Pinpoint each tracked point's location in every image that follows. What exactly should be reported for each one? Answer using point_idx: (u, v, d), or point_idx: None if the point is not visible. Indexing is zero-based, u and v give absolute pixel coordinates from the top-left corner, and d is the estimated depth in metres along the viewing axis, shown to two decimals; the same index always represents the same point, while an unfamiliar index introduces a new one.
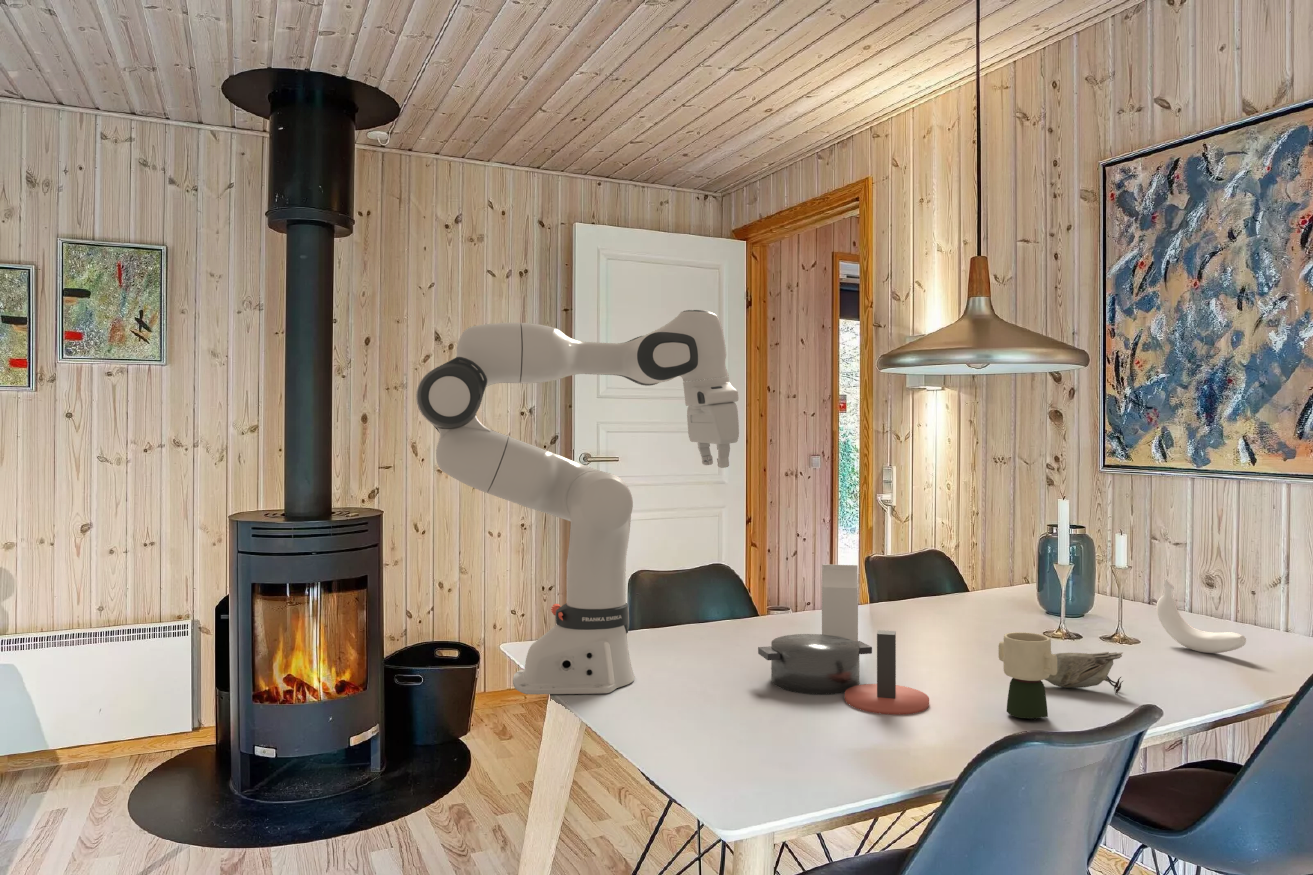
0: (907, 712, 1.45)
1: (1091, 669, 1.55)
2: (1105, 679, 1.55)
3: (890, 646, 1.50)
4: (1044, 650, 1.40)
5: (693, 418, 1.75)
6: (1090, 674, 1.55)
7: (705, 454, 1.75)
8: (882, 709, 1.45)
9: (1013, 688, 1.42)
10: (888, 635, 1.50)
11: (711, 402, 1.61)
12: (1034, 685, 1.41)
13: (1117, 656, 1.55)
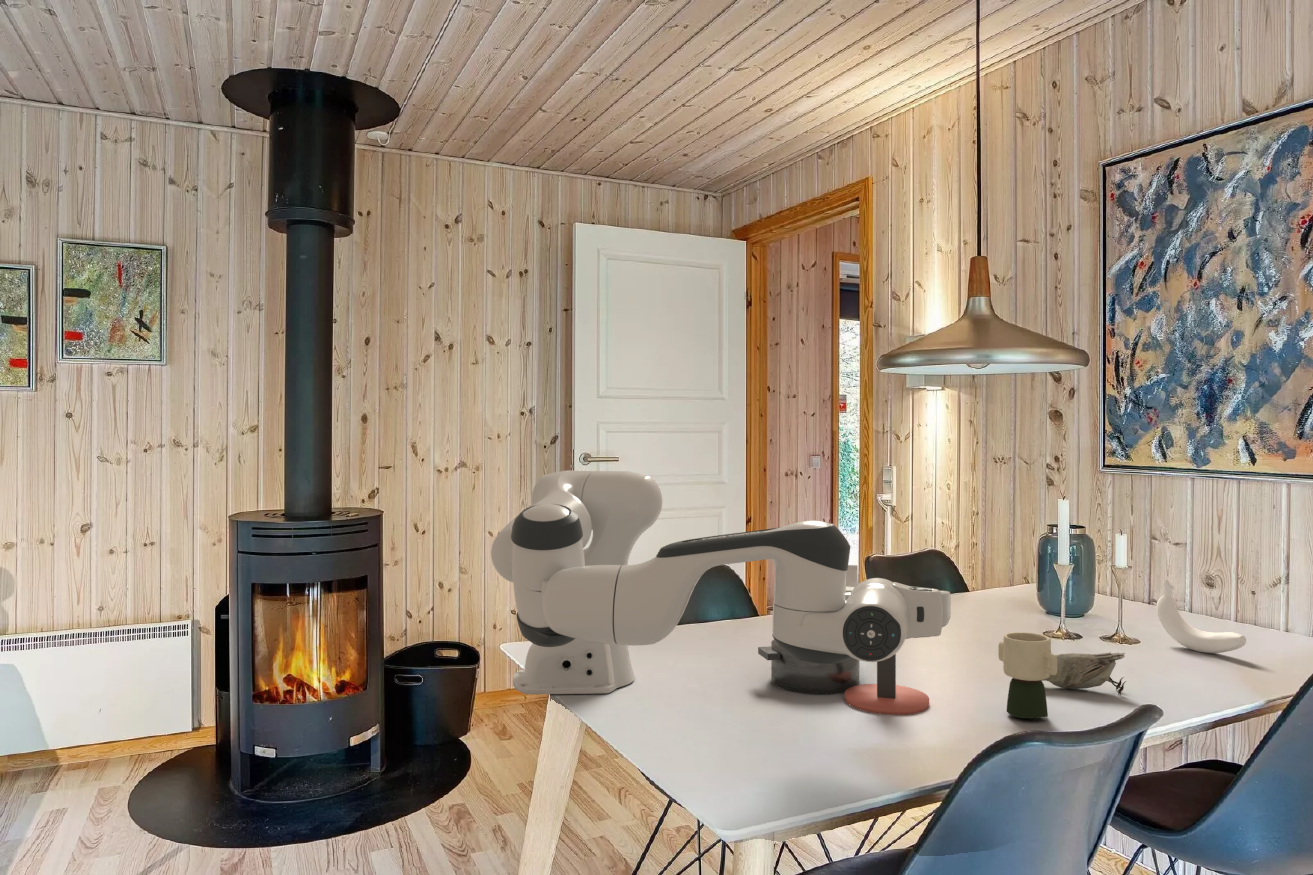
0: (907, 712, 1.45)
1: (1094, 670, 1.55)
2: (1108, 680, 1.55)
3: None
4: (1044, 650, 1.40)
5: None
6: (1093, 675, 1.55)
7: None
8: (882, 709, 1.45)
9: (1013, 688, 1.42)
10: None
11: None
12: (1034, 685, 1.41)
13: (1120, 656, 1.55)
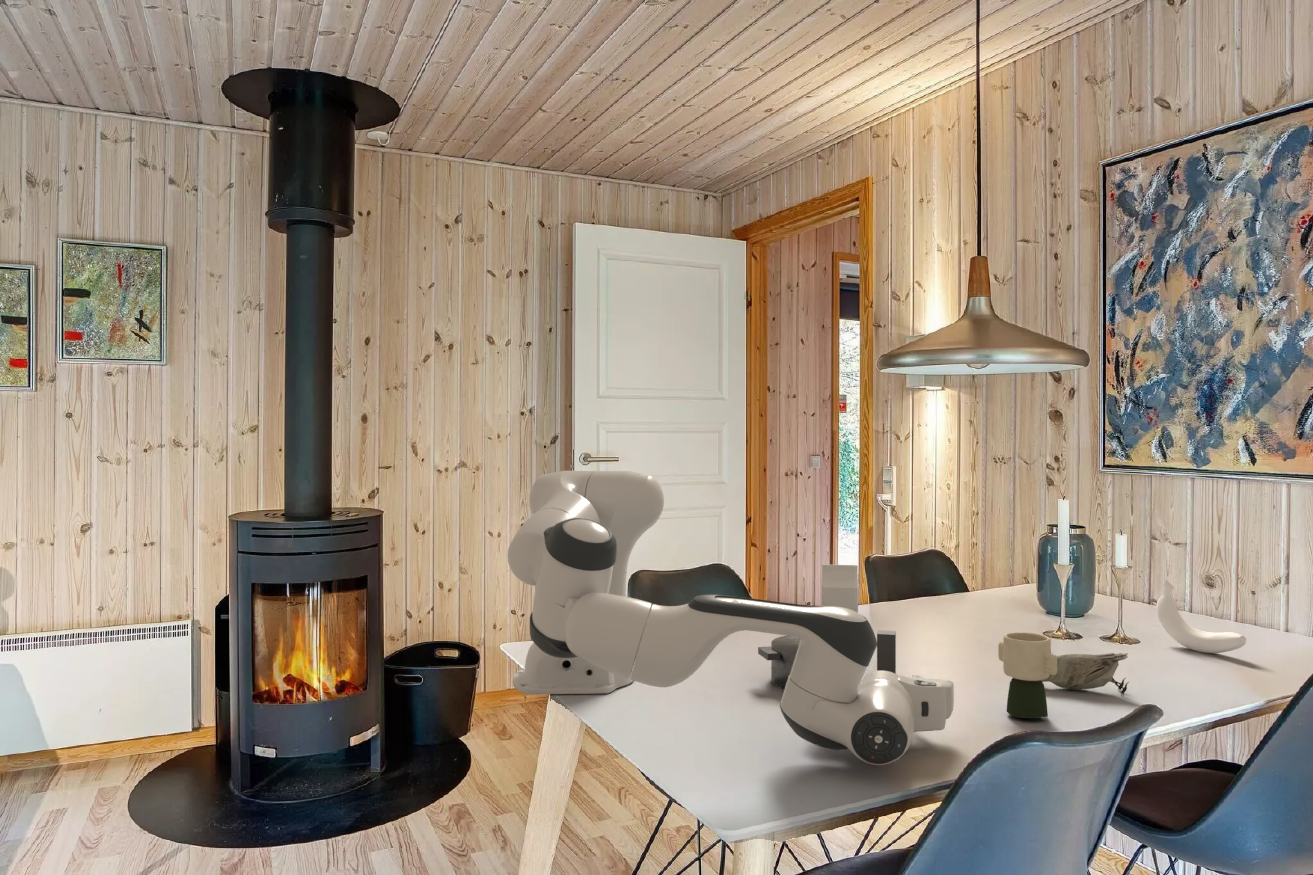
0: None
1: (1097, 670, 1.54)
2: (1111, 680, 1.54)
3: (890, 646, 1.50)
4: (1044, 650, 1.40)
5: None
6: (1096, 675, 1.54)
7: None
8: None
9: (1013, 688, 1.42)
10: (888, 635, 1.50)
11: None
12: (1034, 685, 1.41)
13: (1123, 657, 1.54)
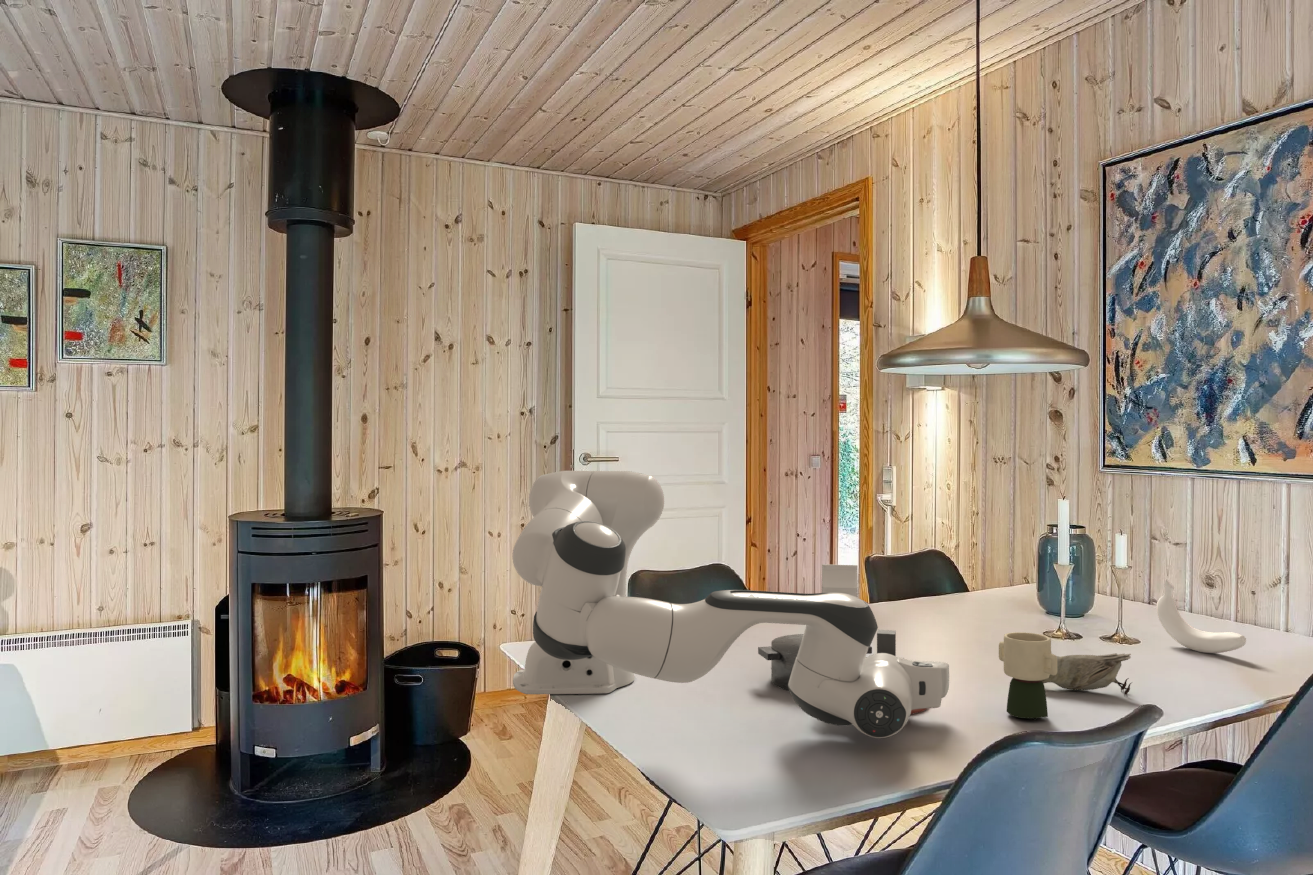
0: None
1: (1101, 671, 1.54)
2: (1114, 681, 1.54)
3: (890, 646, 1.50)
4: (1044, 650, 1.40)
5: None
6: (1100, 676, 1.54)
7: None
8: None
9: (1013, 688, 1.42)
10: (888, 634, 1.50)
11: None
12: (1034, 685, 1.41)
13: (1126, 657, 1.54)
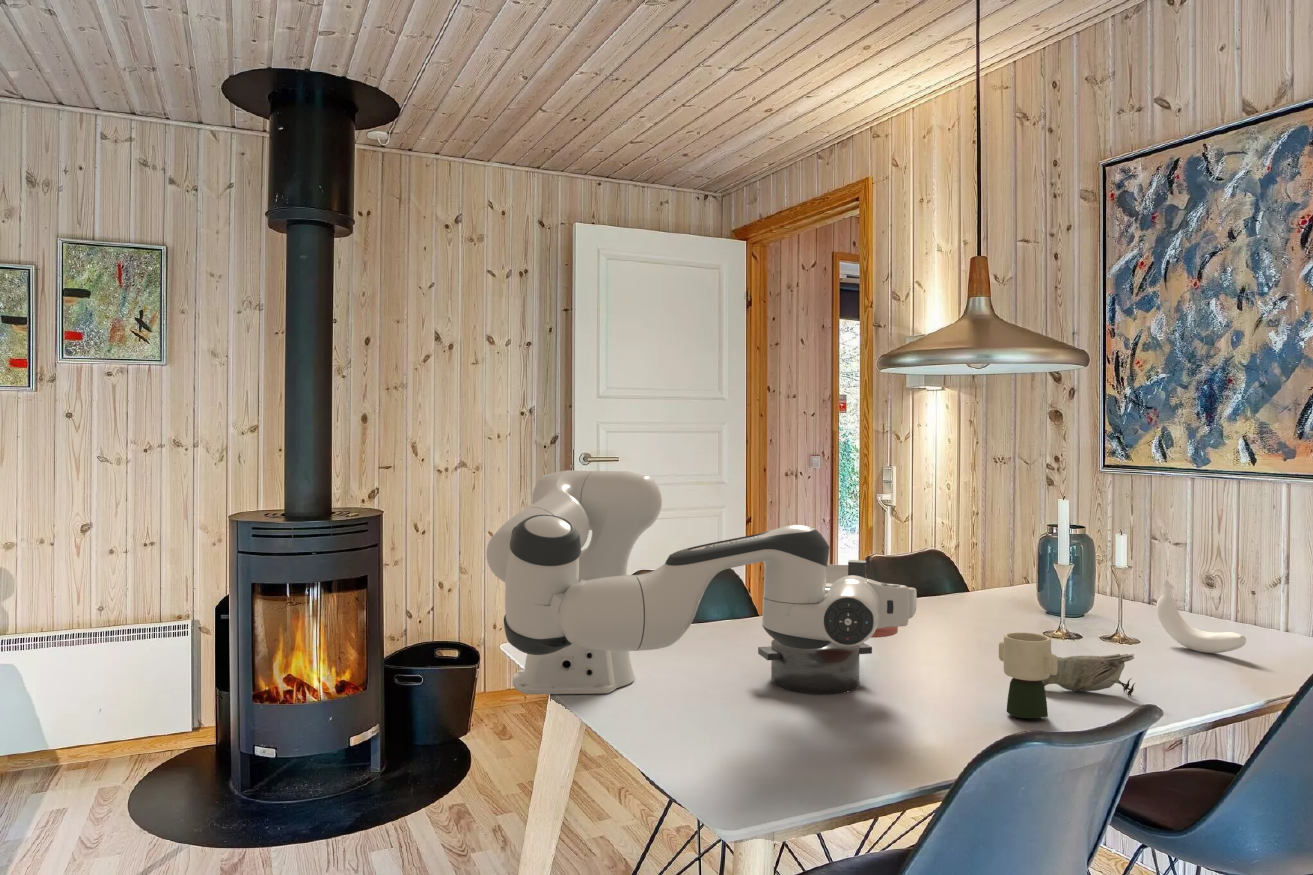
0: (876, 634, 1.50)
1: (1105, 672, 1.53)
2: (1118, 682, 1.54)
3: (861, 574, 1.55)
4: (1045, 650, 1.40)
5: None
6: (1104, 677, 1.53)
7: None
8: None
9: (1013, 687, 1.42)
10: (859, 563, 1.55)
11: None
12: (1034, 685, 1.41)
13: (1129, 658, 1.54)
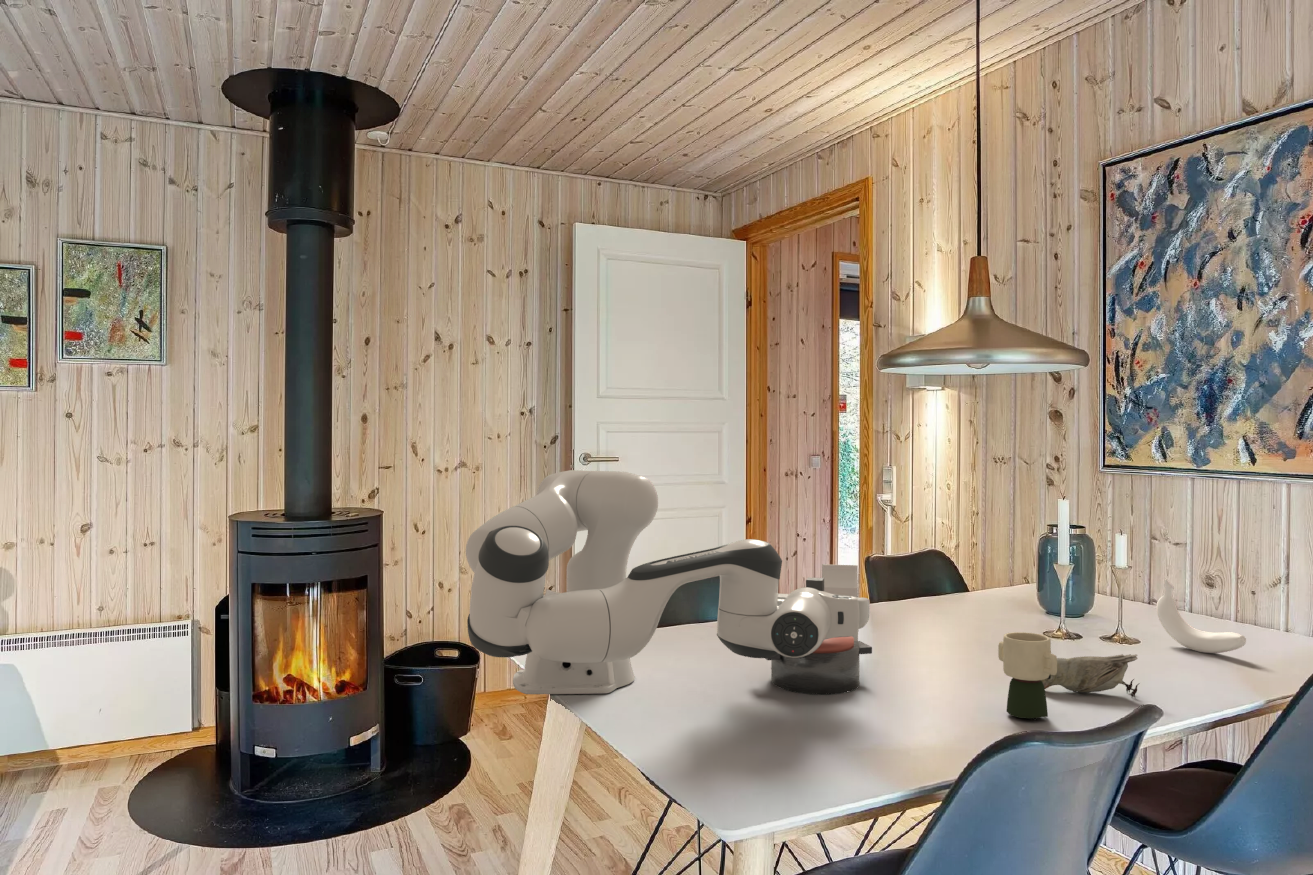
0: (831, 650, 1.56)
1: (1109, 673, 1.53)
2: (1122, 682, 1.53)
3: None
4: (1044, 650, 1.40)
5: None
6: (1108, 678, 1.53)
7: None
8: None
9: (1013, 688, 1.42)
10: (816, 581, 1.62)
11: None
12: (1034, 685, 1.41)
13: (1133, 658, 1.53)
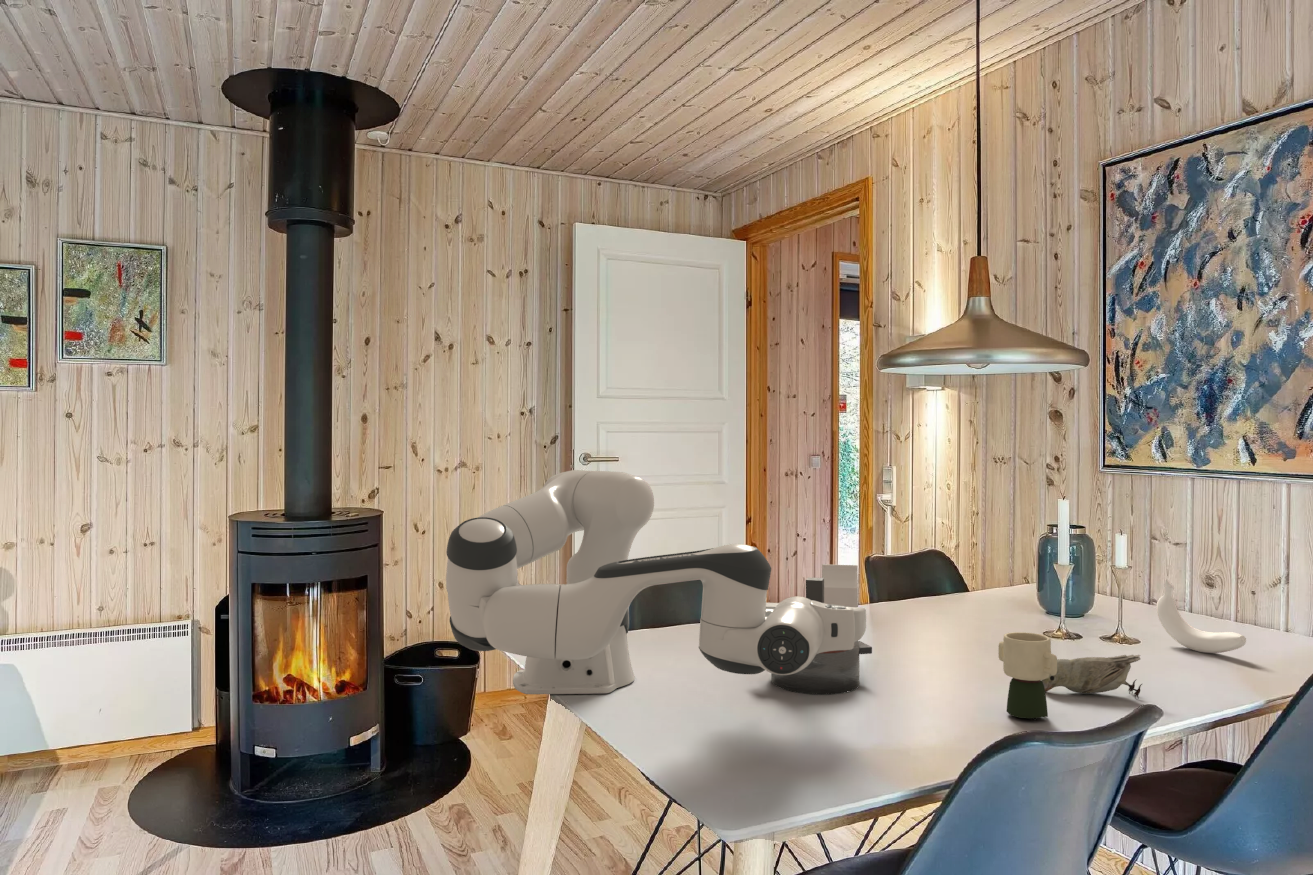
0: None
1: (1112, 673, 1.52)
2: (1125, 683, 1.53)
3: (818, 591, 1.62)
4: (1044, 650, 1.40)
5: None
6: (1111, 679, 1.52)
7: None
8: None
9: (1013, 688, 1.42)
10: (816, 581, 1.62)
11: None
12: (1034, 685, 1.41)
13: (1136, 659, 1.53)
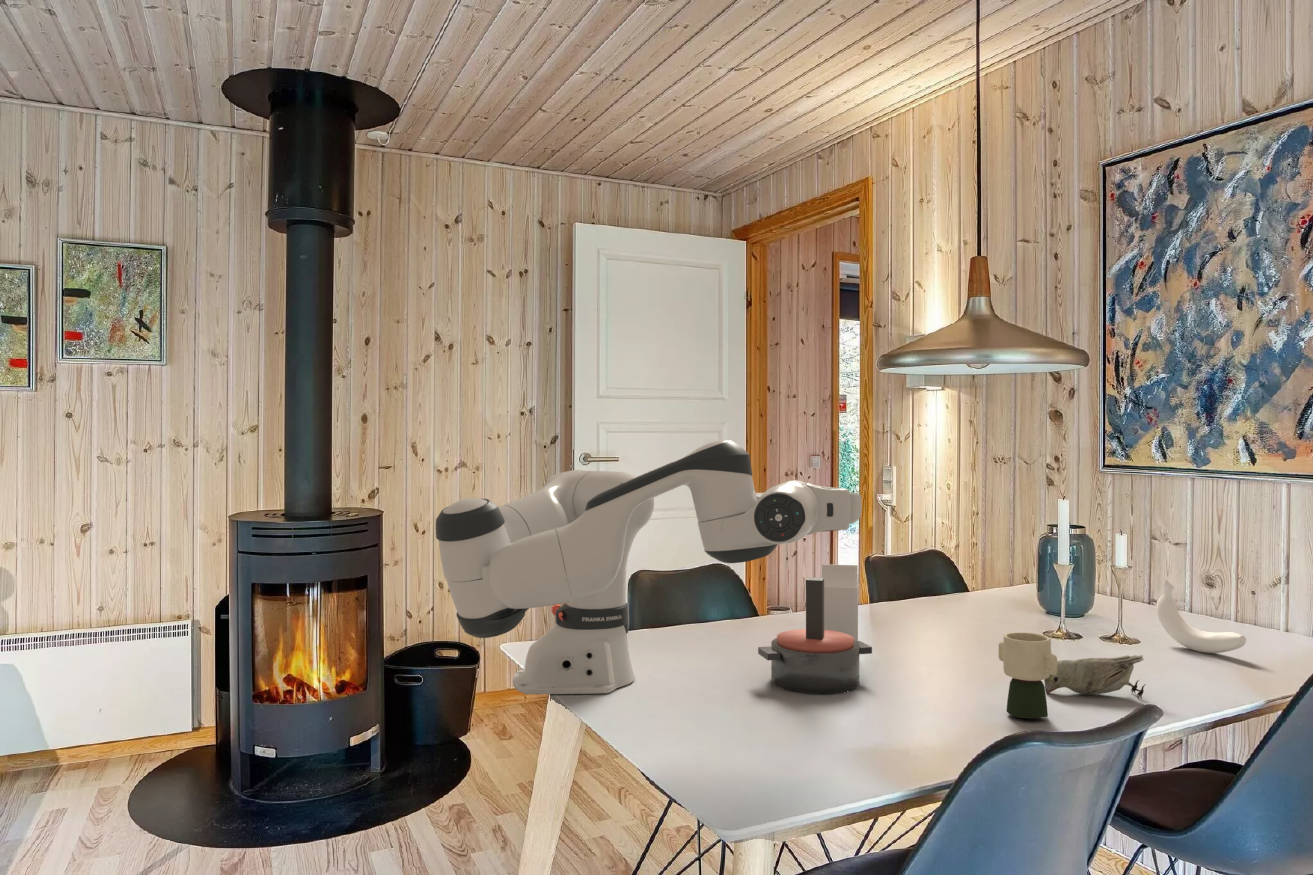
0: (831, 650, 1.56)
1: (1116, 674, 1.52)
2: (1128, 683, 1.52)
3: (818, 591, 1.62)
4: (1044, 650, 1.40)
5: None
6: (1115, 679, 1.52)
7: None
8: (808, 647, 1.57)
9: (1013, 688, 1.42)
10: (816, 581, 1.62)
11: None
12: (1034, 685, 1.41)
13: (1139, 659, 1.53)
